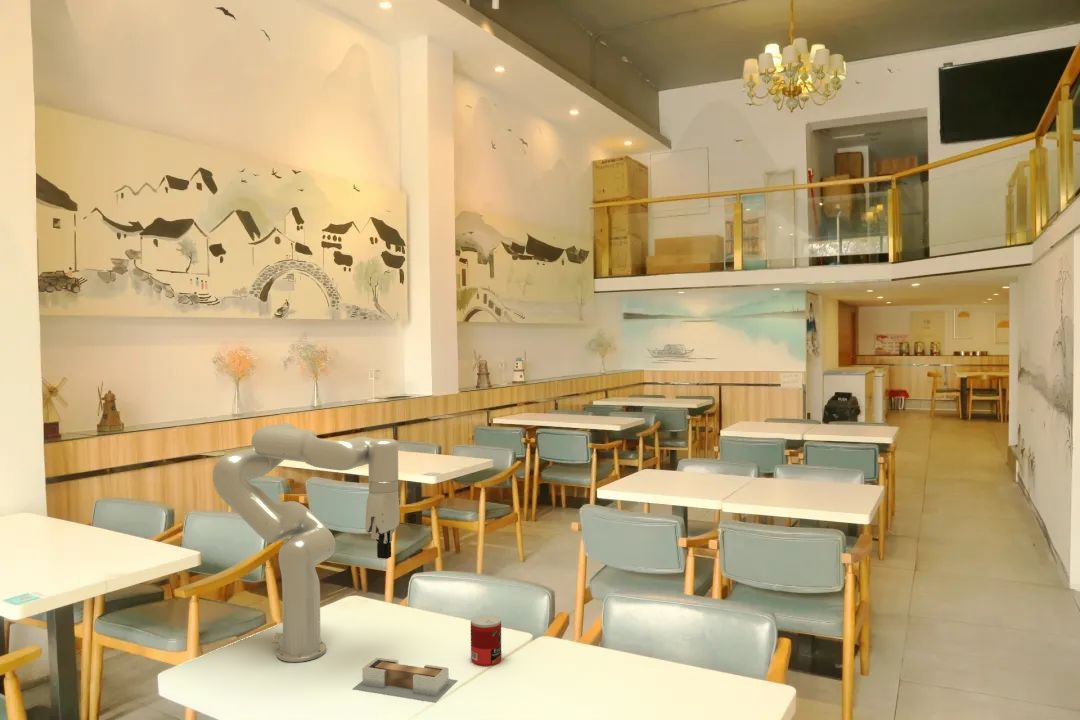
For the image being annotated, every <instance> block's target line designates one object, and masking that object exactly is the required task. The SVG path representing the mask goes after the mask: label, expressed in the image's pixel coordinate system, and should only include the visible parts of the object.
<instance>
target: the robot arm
mask: <svg viewBox="0 0 1080 720" xmlns="http://www.w3.org/2000/svg"><path fill="white" fill-rule="evenodd" d="M250 443H251V447H250V448H247V449H242V450H237V451H232V452H229V453H227V454H224V455H223V456H221V457H220V458H218V460H217V461H216V463H215V464H214V466H213V470H212V483H213V487H214V489H215V492H216V494H217V495H218V496H219V497H220V499H222V500H223V502H224V503H226V504H227V505H228V506H229V507H230V508H232V509H233V511H235V512H236V513H237V514H238V515H239V516H240V517H241V518H242V519H243V521H244V522H245V523H246V524H247V525H248V526H250V528H252V530H253V531H254V532H255V533H256V534H257V535H258V536H259V537H260V538H261V539H262V540H264V541H265V542H267V543H271V544H272V543H273V544H274V543H278V542H280V541H283V540H285V539H287V540H285V542H283V543H282V545H281V547H280V548H279V551H278V556H277V557H278V564H279V565H278V566H279V570H280V574H281V586H282V587H281V589H282V593H281V594H282V633H281V632H276V633H274V636H273V638H272V644H279V648H278V649H277V650H276V657H277V659H279V660H281V661H282V662H288V663H302V662H306V661H307V662H308V661H311V660H315V659H317V658H319V657H321V656H323V655H324V654H325V653H326V652H327V643H326V642H324V641H322V640H321V584H320V579H319V575H318V572H317V569H316V566H317V565H319V564H320V563H322V562H325V561H326V560H328V559H329V558H330V557H331V556H332V555H333V553H334V552H335V550H336V539H335V537H334V535H333V533H332V532H331V531H330V530H329V528H328V527H327V526H326V525H325V524H324V523H323V522H322V521H321V520H320V519H319V518H318V517H317V516H316V515H315V514H314V513H313V512H312V511H311V510H310V509H308V508H307V506H305V505H303V504H302V503H301V502H298V501H295V500H294V501H293V500H288V501H284V502H281V503H277V502H275V501H274V500H273V499H272V498H271V497H270V496H269V495H268V494H267V493H266V492H265V491H264V490H262V489H261V488H259V487H257V486H256V485H253V484H252V483H250V482H249V481H250V480H255V479H258V478H262V477H263V476H266V475H268V474H269V473H271V472H272V471H273V470H274V469H275V468H277V467H278V466H279V465H281V463H283V461H295V462H301V463H305V464H306V465H308V466H309V465H310V466H312V467H313V468H319V469H324V470H325V469H327V470H332V471H348V470H352V469H356V468H359V467H363V466H366V465H368V494H367V498H366V499H367V500H366V506H365V524H364V525H365V532H366V533H367V534H368V533H371V534H370V539H371V540H375V543H376V554H377V555H376V557H377V559H384V560H388V559H390V558H392V540H393V534H394V533H395V531H396V530H397V527H399V525H400V522H401V520H400V519H401V518H400V517H401V515H400V511H401V510H400V499H399V444H398V441H397V440H396V439H393V438H373V437H366V436H357V437H352V438H348V439H344V440H334V439H326V438H325V439H324V438H320V437H317V434H316V433H315V431H313V430H311V429H301V428H297V427H296V426H294V425H292V424H290V423H287V422H286V423H285V422H283V423H282V422H281V423H276V424H275V423H274V424H270V425H266V426H265V425H264V426H262V427H260V428H258V429H257V430H256V431H255V432H254V433H253V435H252V437H251V441H250Z"/></svg>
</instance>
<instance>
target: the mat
mask: <svg viewBox="0 0 1080 720" xmlns="http://www.w3.org/2000/svg"><path fill="white" fill-rule="evenodd" d="M457 682H458V679H452V678H449V685H448V686H447V687H446V688H444V689H443V690H442V691H441V692H440V693H439V694H438V695H437V696H436V697H435V696H429V695H423V694H416V693H413V689H407V688H401V687H395V686H388V685H387V687H386V688H379V687H372V686H366V685H362V681H360V682H359V683H357V685H355V686H354V687H353V688H352V690H354V691H360V692H367V693H373V694H378V695H379V694H380V695H384V696H385V695H386V696H390V697H391V696H392V697H398V698H402V699H403V698H404V699H409V700H416V701H420V702H428V703H434V704H436V703H437V702H439V700H440V699H441V698H442V697H443V696H445V694H446V693H447V692H448V691H449V690H450V689H451V688H452V687H453V686H455V684H456V683H457Z"/></svg>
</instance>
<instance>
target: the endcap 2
mask: <svg viewBox="0 0 1080 720" xmlns="http://www.w3.org/2000/svg"><path fill="white" fill-rule="evenodd" d="M423 668H429V669H436V670H441V671H440V672H439V673H438V674H437V675H436V676H435V677H430V676H423V675H417V674H415V675H414V676H413V693H416V694H423V695H429V696H435V697H436V696H437V695H438V694H439V693H440V692H441V691H442V690H443V689H444V688H446V687H447V686H448V685H449V679H450V678H449V667H444V666H440V665H439V666H437V665H432V664H425V665H424V666H423Z"/></svg>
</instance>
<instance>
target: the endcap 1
mask: <svg viewBox="0 0 1080 720" xmlns="http://www.w3.org/2000/svg"><path fill="white" fill-rule="evenodd" d="M381 662H388V663H395V664H399V660H396V659H390V658H382V657H375V658H374V659H373V660H372V661H370V662H369V663H368V664H367V665H365V666H364V667H362V669H361V670H362V671H361V673H362V675H361V676H362V681H361V682H362V685H366V686H372V687H379V688H386V687H387V670H383V669H377V668H375V666H377V665H378V664H379V663H381Z"/></svg>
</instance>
